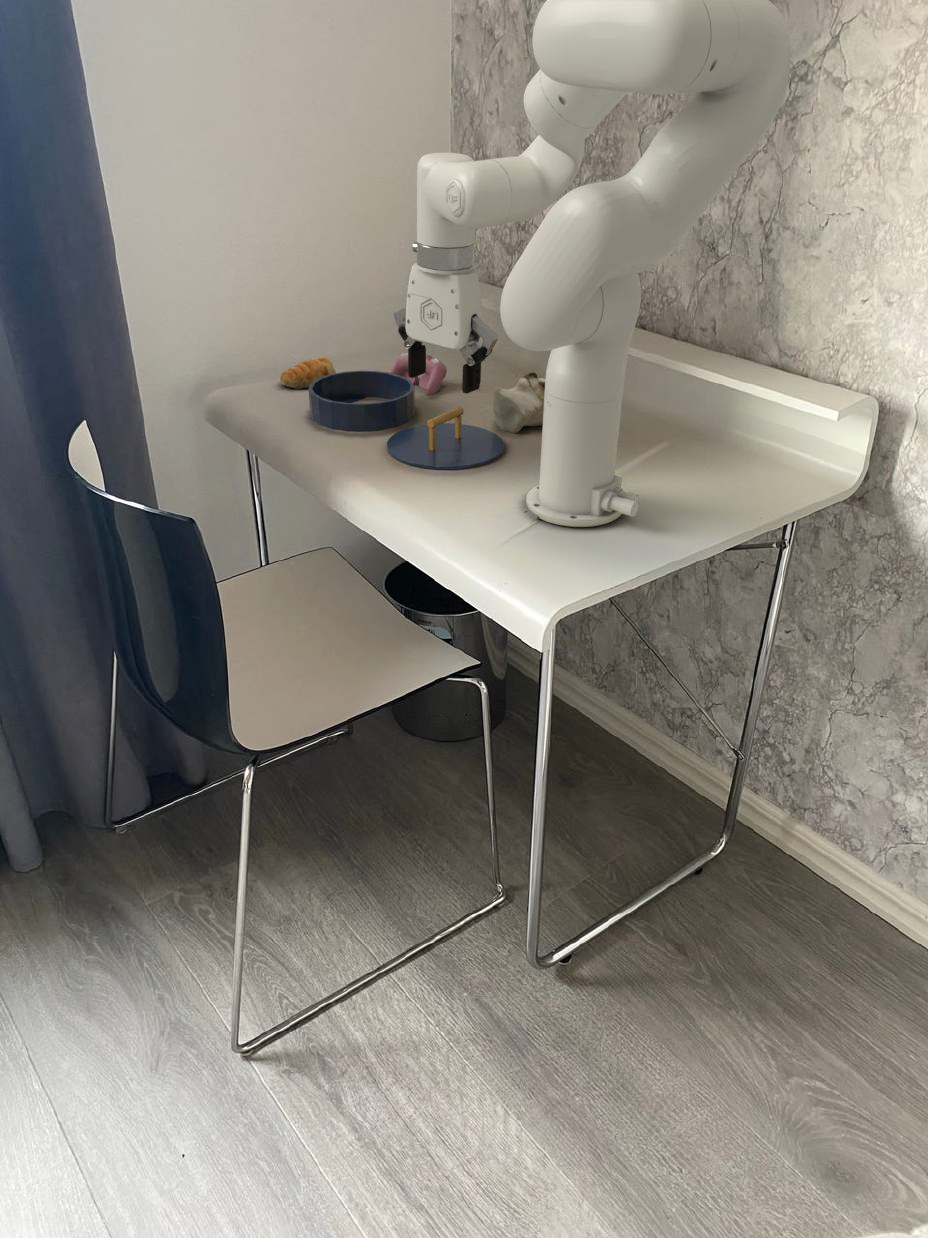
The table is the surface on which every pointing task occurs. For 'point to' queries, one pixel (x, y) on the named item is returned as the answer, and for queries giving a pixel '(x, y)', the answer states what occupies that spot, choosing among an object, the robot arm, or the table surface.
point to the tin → (342, 389)
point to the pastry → (307, 373)
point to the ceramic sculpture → (520, 404)
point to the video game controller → (429, 379)
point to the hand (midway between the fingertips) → (443, 382)
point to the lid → (445, 444)
